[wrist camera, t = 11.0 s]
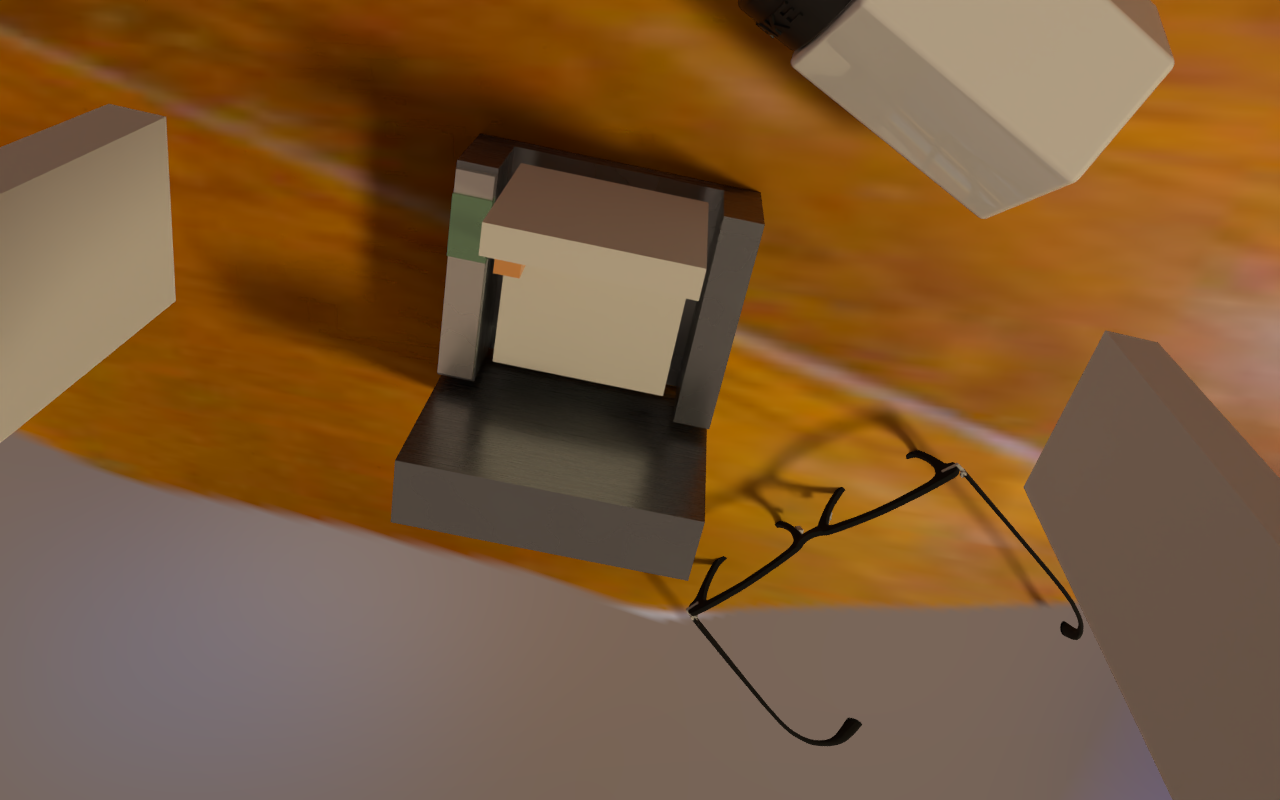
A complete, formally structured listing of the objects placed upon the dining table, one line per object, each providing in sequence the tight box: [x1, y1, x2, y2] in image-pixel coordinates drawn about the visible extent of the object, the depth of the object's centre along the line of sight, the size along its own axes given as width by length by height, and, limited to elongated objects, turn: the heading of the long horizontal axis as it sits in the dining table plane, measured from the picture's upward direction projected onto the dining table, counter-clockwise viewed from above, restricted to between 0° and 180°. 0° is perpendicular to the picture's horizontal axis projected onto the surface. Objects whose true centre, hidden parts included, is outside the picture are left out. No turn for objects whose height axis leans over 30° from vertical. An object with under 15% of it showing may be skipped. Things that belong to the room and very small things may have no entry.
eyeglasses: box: [686, 450, 1083, 746], centre depth 48 cm, size 16×16×4 cm
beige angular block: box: [479, 163, 709, 396], centre depth 37 cm, size 8×8×8 cm
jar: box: [738, 0, 1174, 219], centre depth 32 cm, size 9×8×12 cm
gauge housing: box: [391, 133, 765, 581], centre depth 38 cm, size 13×12×10 cm
